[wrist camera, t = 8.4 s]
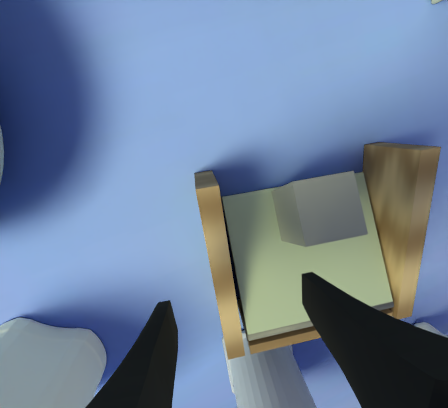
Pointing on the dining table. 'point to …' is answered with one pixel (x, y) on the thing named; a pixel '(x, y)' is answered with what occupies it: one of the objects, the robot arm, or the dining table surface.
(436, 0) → the supplement box
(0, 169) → the serving bowl
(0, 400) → the jar
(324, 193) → the gray block
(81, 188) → the dining table surface
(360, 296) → the hatch
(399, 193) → the hatch frame
